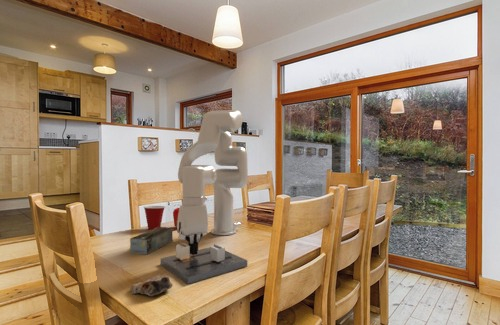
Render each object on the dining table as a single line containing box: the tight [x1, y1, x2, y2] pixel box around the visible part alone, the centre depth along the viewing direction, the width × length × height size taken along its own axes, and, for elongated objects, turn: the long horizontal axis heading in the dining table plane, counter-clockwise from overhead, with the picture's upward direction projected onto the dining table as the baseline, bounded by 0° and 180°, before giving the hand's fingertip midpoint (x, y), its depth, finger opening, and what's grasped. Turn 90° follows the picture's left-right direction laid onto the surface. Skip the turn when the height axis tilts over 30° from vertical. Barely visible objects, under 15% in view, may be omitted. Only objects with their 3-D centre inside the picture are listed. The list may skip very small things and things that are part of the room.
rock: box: [130, 274, 173, 297], centre depth 76 cm, size 9×6×10 cm
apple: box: [172, 207, 180, 229], centre depth 148 cm, size 9×8×12 cm
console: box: [160, 246, 248, 285], centre depth 95 cm, size 22×20×2 cm
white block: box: [210, 244, 226, 262], centre depth 94 cm, size 3×4×4 cm
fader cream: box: [175, 242, 190, 260], centre depth 95 cm, size 3×4×4 cm
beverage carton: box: [129, 226, 174, 255], centre depth 115 cm, size 8×19×7 cm, turn 165°
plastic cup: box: [143, 205, 166, 231], centre depth 145 cm, size 11×11×12 cm
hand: (193, 253), depth 98 cm, fingers closed
